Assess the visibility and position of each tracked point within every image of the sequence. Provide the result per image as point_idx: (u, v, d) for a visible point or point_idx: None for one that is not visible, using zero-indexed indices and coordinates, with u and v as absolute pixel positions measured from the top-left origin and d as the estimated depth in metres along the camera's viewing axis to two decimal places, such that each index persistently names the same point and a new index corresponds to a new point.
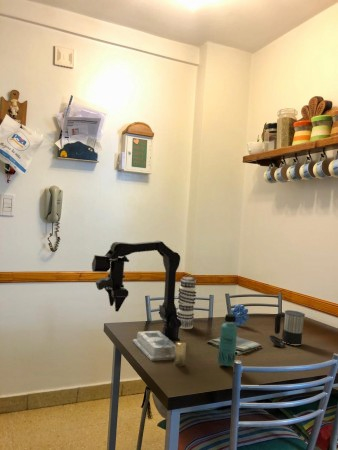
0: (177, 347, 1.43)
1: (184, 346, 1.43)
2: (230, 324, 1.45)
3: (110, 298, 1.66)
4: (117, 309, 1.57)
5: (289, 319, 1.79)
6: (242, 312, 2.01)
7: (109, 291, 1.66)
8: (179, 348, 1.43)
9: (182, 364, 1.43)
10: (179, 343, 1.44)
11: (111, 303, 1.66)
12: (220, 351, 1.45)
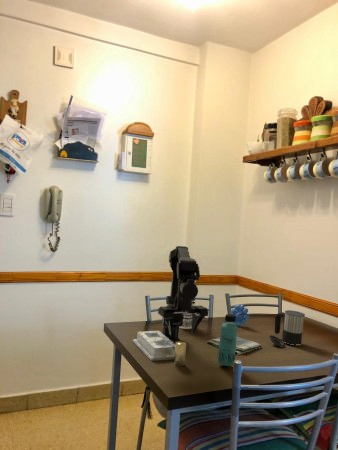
0: (177, 347, 1.43)
1: (184, 346, 1.43)
2: (230, 324, 1.45)
3: (192, 324, 1.47)
4: (169, 332, 1.42)
5: (289, 319, 1.79)
6: (242, 312, 2.01)
7: (193, 316, 1.48)
8: (179, 348, 1.43)
9: (182, 364, 1.43)
10: (179, 343, 1.44)
11: (192, 330, 1.46)
12: (220, 351, 1.45)
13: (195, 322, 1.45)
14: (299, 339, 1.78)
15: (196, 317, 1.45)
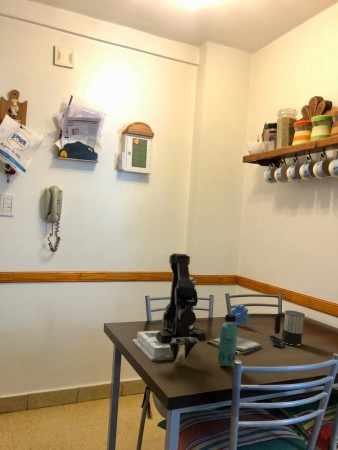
0: None
1: (184, 346, 1.43)
2: (230, 324, 1.45)
3: None
4: (173, 357, 1.44)
5: (289, 319, 1.79)
6: (242, 312, 2.01)
7: (185, 341, 1.47)
8: (179, 348, 1.43)
9: (182, 364, 1.43)
10: (179, 343, 1.44)
11: None
12: (220, 351, 1.45)
13: (187, 347, 1.45)
14: (299, 339, 1.78)
15: (188, 342, 1.45)
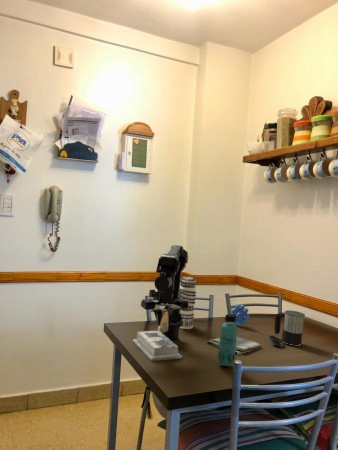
0: (161, 314, 1.52)
1: (167, 313, 1.52)
2: (230, 324, 1.45)
3: None
4: (157, 323, 1.52)
5: (289, 319, 1.78)
6: (242, 312, 2.01)
7: (169, 308, 1.55)
8: (162, 315, 1.51)
9: (165, 330, 1.52)
10: (163, 310, 1.53)
11: None
12: (220, 351, 1.45)
13: (170, 314, 1.53)
14: (299, 339, 1.78)
15: (171, 309, 1.53)
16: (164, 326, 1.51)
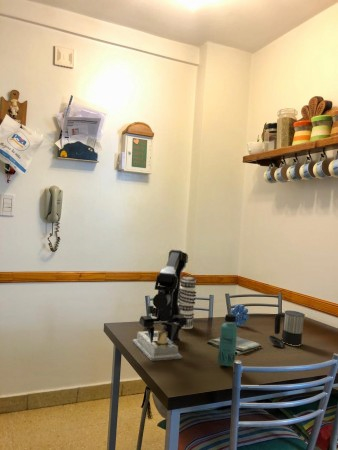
0: (159, 335, 1.52)
1: (165, 334, 1.52)
2: (230, 324, 1.45)
3: (171, 332, 1.56)
4: (150, 340, 1.51)
5: (288, 319, 1.78)
6: (242, 312, 2.01)
7: (172, 325, 1.56)
8: (160, 337, 1.52)
9: None
10: (161, 332, 1.53)
11: (171, 338, 1.55)
12: (220, 351, 1.45)
13: (174, 331, 1.54)
14: (299, 339, 1.78)
15: (175, 326, 1.54)
16: None
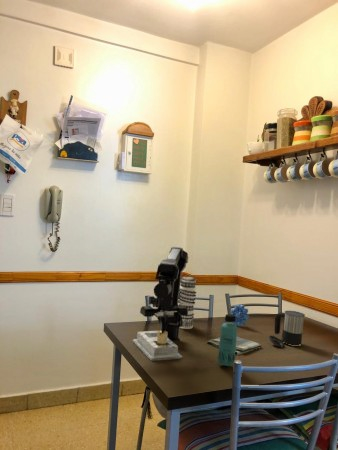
0: (159, 335, 1.52)
1: (165, 334, 1.52)
2: (230, 324, 1.45)
3: None
4: (161, 329, 1.53)
5: (288, 320, 1.78)
6: (242, 312, 2.01)
7: (164, 315, 1.55)
8: (160, 337, 1.52)
9: None
10: (161, 332, 1.53)
11: None
12: (220, 351, 1.45)
13: (165, 321, 1.52)
14: (299, 339, 1.78)
15: (166, 316, 1.52)
16: None
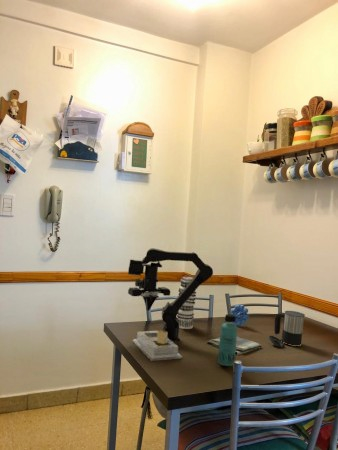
0: (159, 335, 1.52)
1: (165, 334, 1.52)
2: (230, 324, 1.45)
3: None
4: (146, 308, 1.73)
5: (288, 320, 1.78)
6: (242, 312, 2.01)
7: (149, 296, 1.74)
8: (160, 336, 1.52)
9: None
10: (161, 331, 1.53)
11: None
12: (220, 351, 1.45)
13: (150, 301, 1.72)
14: (299, 339, 1.77)
15: (151, 296, 1.72)
16: None
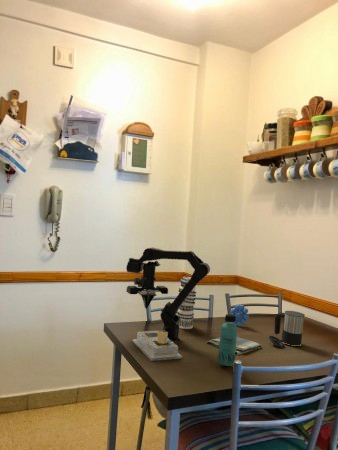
0: (159, 335, 1.52)
1: (165, 334, 1.52)
2: (230, 324, 1.45)
3: None
4: None
5: (288, 320, 1.78)
6: (242, 312, 2.01)
7: (147, 294, 1.78)
8: (160, 336, 1.52)
9: None
10: (161, 331, 1.53)
11: None
12: (220, 351, 1.45)
13: (148, 299, 1.76)
14: (299, 340, 1.77)
15: (149, 295, 1.76)
16: None
